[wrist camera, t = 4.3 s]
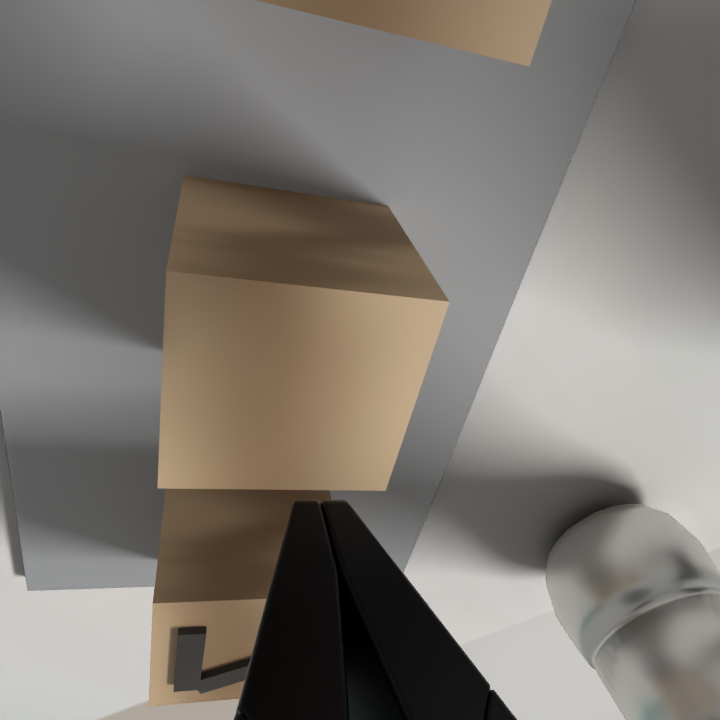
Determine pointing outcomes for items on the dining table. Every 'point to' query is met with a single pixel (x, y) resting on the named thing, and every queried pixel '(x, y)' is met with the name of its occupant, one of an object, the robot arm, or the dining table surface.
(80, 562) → the grey rubber mat
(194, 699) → the oak block marked 7
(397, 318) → the plain oak block
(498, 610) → the dining table surface
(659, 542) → the plastic bottle
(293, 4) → the oak block marked 1
